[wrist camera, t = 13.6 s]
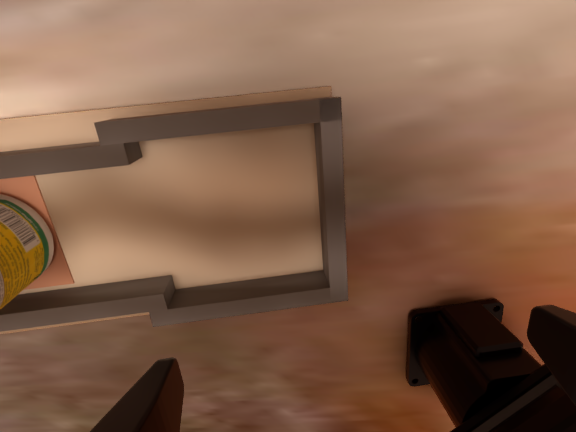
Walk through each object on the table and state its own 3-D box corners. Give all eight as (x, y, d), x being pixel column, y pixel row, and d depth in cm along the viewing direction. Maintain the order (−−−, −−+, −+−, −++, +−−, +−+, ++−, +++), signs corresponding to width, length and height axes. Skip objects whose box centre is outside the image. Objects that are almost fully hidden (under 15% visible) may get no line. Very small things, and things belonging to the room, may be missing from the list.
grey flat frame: (338, 283, 22) (348, 307, 19) (-15, 330, 21) (-51, 362, 18) (328, 86, 18) (340, 85, 15) (-117, 130, 16) (-181, 138, 14)
